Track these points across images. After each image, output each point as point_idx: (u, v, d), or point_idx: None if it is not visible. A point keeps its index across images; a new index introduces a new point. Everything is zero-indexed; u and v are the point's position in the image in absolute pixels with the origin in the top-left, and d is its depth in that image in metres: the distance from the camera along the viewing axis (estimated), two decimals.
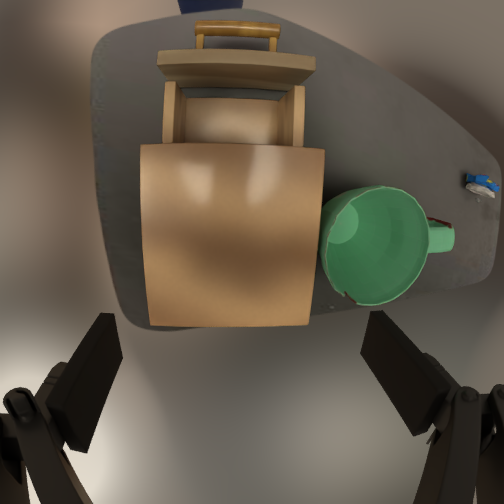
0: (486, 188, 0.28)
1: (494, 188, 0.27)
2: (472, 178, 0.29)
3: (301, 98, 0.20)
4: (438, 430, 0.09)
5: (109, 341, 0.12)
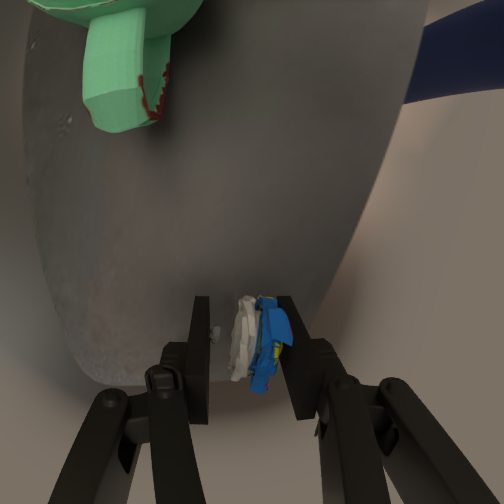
0: (253, 348, 0.13)
1: (259, 374, 0.12)
2: (270, 305, 0.14)
3: None
4: (322, 422, 0.10)
5: None
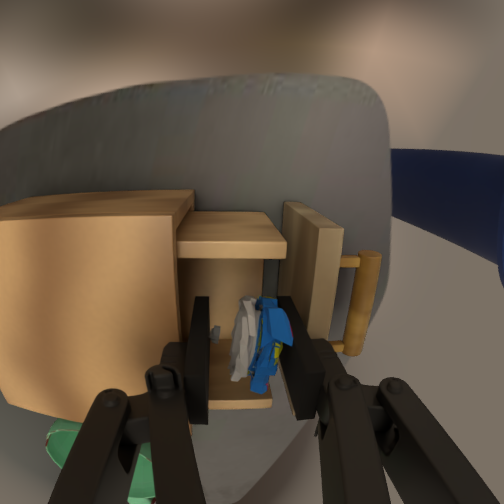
0: (253, 348, 0.13)
1: (259, 374, 0.12)
2: (270, 305, 0.14)
3: (254, 405, 0.16)
4: (322, 422, 0.10)
5: None
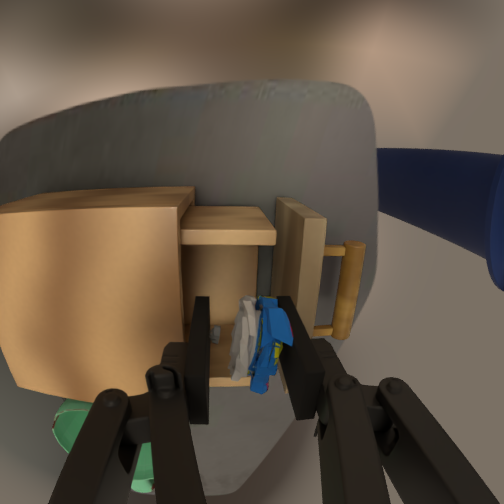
0: (253, 348, 0.13)
1: (259, 373, 0.12)
2: (271, 305, 0.14)
3: (249, 383, 0.18)
4: (322, 422, 0.10)
5: None
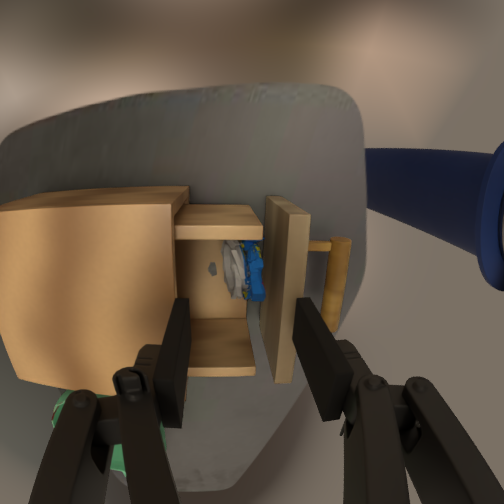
0: (242, 257, 0.19)
1: (252, 269, 0.18)
2: None
3: (240, 373, 0.19)
4: (348, 422, 0.10)
5: (187, 323, 0.15)
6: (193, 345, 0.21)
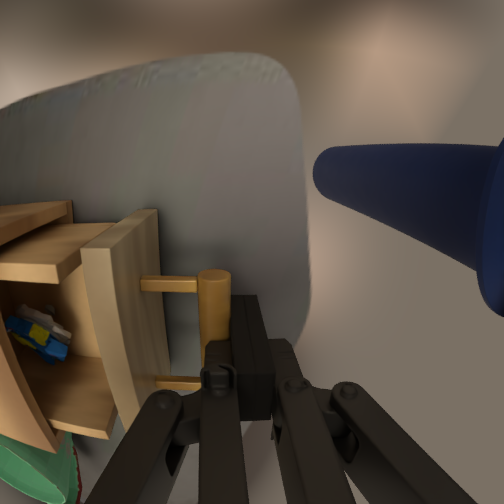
0: None
1: None
2: (19, 323, 0.13)
3: (91, 434, 0.12)
4: (277, 426, 0.10)
5: None
6: (57, 389, 0.14)
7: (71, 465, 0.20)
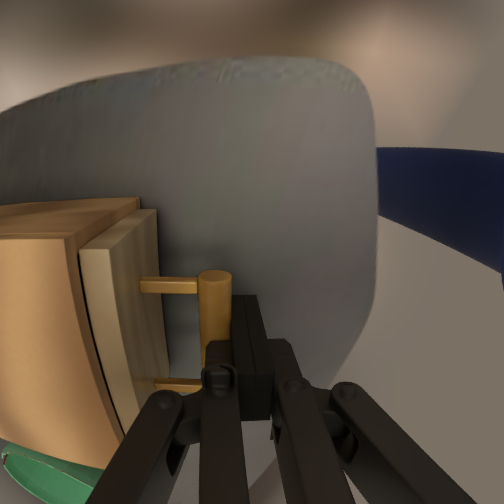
0: None
1: None
2: None
3: None
4: (276, 426, 0.10)
5: None
6: None
7: None
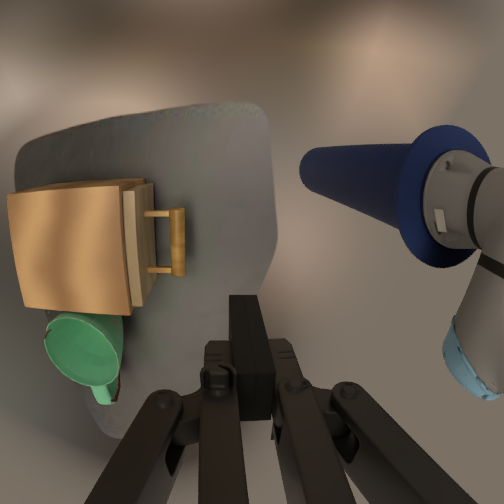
0: None
1: None
2: None
3: None
4: (277, 426, 0.10)
5: None
6: None
7: None
